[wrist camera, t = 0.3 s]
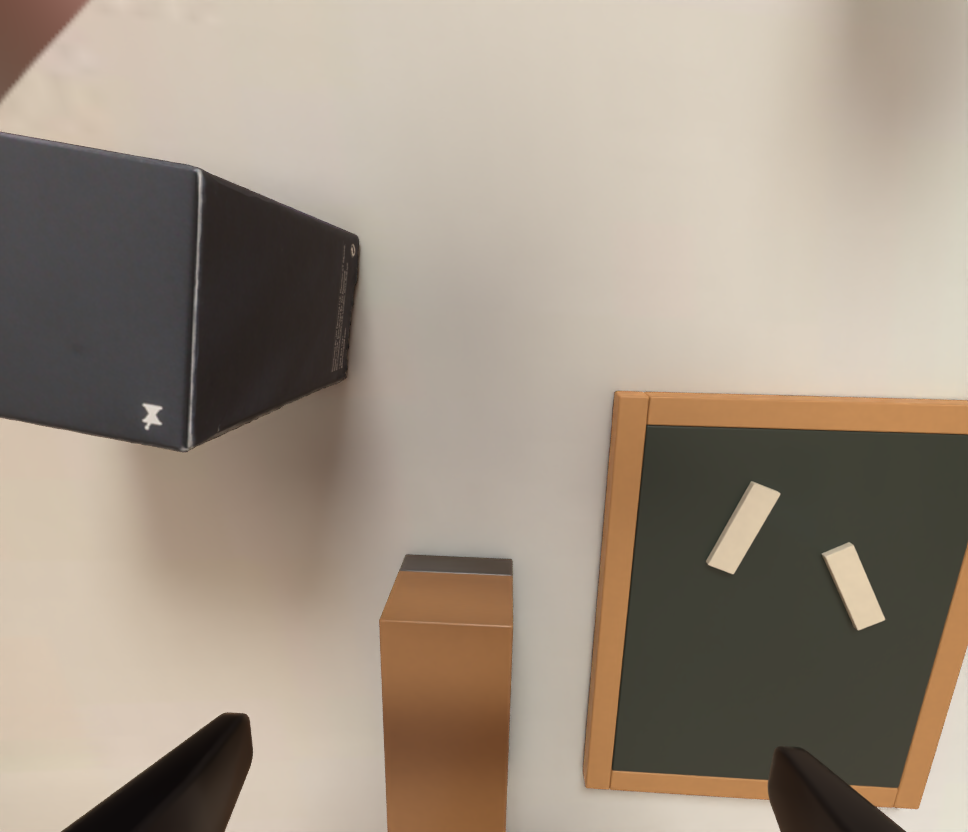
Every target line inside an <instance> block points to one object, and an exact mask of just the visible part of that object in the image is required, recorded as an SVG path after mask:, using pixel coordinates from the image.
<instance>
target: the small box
mask: <svg viewBox="0 0 968 832" xmlns="http://www.w3.org/2000/svg"><path fill="white" fill-rule="evenodd" d="M358 246H359V239H358V236H357V235H355V234H353V233H350V232H348V231H346V230H343V229H341V228H339V227H336V226H334V225H331V224H329V223H327V222H324V221H322V220H320V219H317V218H315V217H313V216H310V215H307V214H305V213H302V212H300V211H298V210H296V209H293V208H291V207H289V206H286V205H284V204H281V203H279V202H277V201H274V200H272V199H270V198H267V197H265V196H262V195H260V194H258V193H255V192H253V191H250V190H249V189H246V188H244V187H241V186H239V185H236V184H234V183H231V182H229V181H227V180H224V179H222V178H220V177H217V176H215V175H212V174H210V173H208V172H206V171H204V170H202V169H201V168H198V167H194V166H191V165H186V164H181V163H175V162H169V161H163V160H158V159H152V158H146V157H140V156H134V155H129V154H123V153H118V152H112V151H107V150H101V149H95V148H90V147H84V146H79V145H73V144H67V143H62V142H56V141H50V140H45V139H39V138H33V137H28V136H22V135H16V134H11V133H5V132H0V418H5V419H10V420H17V421H22V422H27V423H32V424H36V425H41V426H46V427H52V428H57V429H63V430H69V431H74V432H78V433H83V434H88V435H93V436H99V437H105V438H110V439H115V440H121V441H126V442H130V443H138V444H142V445H148V446H153V447H158V448H164V449H169V450H174V451H179V452H188V451H189V450H191V449H193V448H195V447H196V446H199V445H201V444H203V443H205V442H207V441H210V440H212V439H214V438H217V437H219V436H221V435H223V434H225V433H227V432H229V431H231V430H234V429H237V428H238V427H240V426H242V425H244V424H247V423H250V422H251V421H253V420H256V419H258V418H259V417H261V416H264V415H267V414H269V413H271V412H273V411H275V410H277V409H280V408H281V407H283V406H284V405H286V404H288V403H292V402H293V401H296V400H298V399H300V398H302V397H304V396H307V395H309V394H311V393H313V392H315V391H319V390H320V389H322V388H326V387H329V386H331V385H334V384H337V383H339V382H341V381H342V380H344V379H345V378H346V374H345V373H346V371H347V358H346V355H347V350H348V348H349V344H348V338H349V328H350V325H351V323H350V318H351V310H352V306H353V294H354V286H355V285H356V282H357V267H358Z"/></svg>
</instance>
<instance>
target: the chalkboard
mask: <svg viewBox="0 0 968 832" xmlns="http://www.w3.org/2000/svg"><path fill="white" fill-rule="evenodd" d="M751 481H752V482H755V483H758V484H760V485H763V486H765V487H768V488H770V489H773V490H776V491H778V492H779V493H780V496H779V498H778V499H777V501H776V503H775V505H774V506H773V508H772V510H771V511H770V513H769V515H768V517H767V518H766V520H765V522H764V523H763V525H762V527H761V528H760V530H759V532H758V534H757V535H756V537H755V539H754V540H753V542H752V544H751V546H750V547H749V549H748V551H747V552H746V554H745V556H744V557H743V559H742V561H741V563H740V564H739V566H738V568H737V569H736V571H735V573H734V574H731V573H728V572H725V571H723V570H720V569H718V568H715V567H712V566H710V565H708V564H707V563H706V560H707V558H708V556H709V555H710V553H711V551H712V549H713V548H714V546H715V544H716V542H717V541H718V539H719V537H720V535H721V533H722V532H723V530H724V528H725V526H726V525H727V523H728V521H729V519H730V518H731V516H732V514H733V512H734V510H735V509H736V507H737V505H738V503H739V502H740V500H741V498H742V496H743V495H744V493H745V491H746V489H747V487H748V486H749V484H750V482H751ZM848 542H850V543H851V544H853V545H854V547H855V550H856V552H857V554H858V557H859V559H860V561H861V564H862V566H863V568H864V571H865V573H866V576H867V578H868V580H869V583H870V585H871V587H872V590H873V592H874V594H875V597H876V599H877V601H878V604H879V606H880V608H881V611H882V613H883V615H884V618H885V620H884V621H882V622H879V623H876V624H874V625H871V626H869V627H866V628H864V629H861V630H857V629H856V628H855V627H854V626H853V624H852V622H851V619H850V617H849V615H848V613H847V610H846V608H845V606H844V604H843V601H842V599H841V597H840V594H839V592H838V590H837V588H836V585H835V583H834V581H833V579H832V576H831V574H830V572H829V570H828V567H827V565H826V563H825V561H824V558H823V556H822V553H824V552H827V551H829V550H831V549H834V548H836V547H838V546H841V545H843V544H846V543H848ZM967 646H968V400H932V399H895V398H858V397H820V396H783V395H746V394H708V393H671V392H644V393H643V392H632V391H616V392H615V394H614V406H613V418H612V430H611V442H610V454H609V466H608V478H607V490H606V502H605V514H604V526H603V538H602V550H601V562H600V573H599V585H598V597H597V609H596V621H595V633H594V645H593V657H592V669H591V681H590V693H589V705H588V717H587V729H586V741H585V753H584V765H583V774H584V780H585V786H586V788H593V789H609V788H610V789H611V790H623V791H639V792H654V793H670V794H686V795H702V796H717V797H733V798H749V799H764V800H769V796H768V779H769V773H770V768H771V763H772V758H773V753H774V750H775V748H776V747H777V746H792V747H801V748H803V749H805V750H807V751H808V752H809V753H811V754H812V755H813V756H814V757H815V758H817V759H818V760H819V761H820V762H822V763H823V764H824V765H825V766H826V767H828V768H829V769H830V770H831V771H833V772H834V773H835V774H836V775H837V776H839V777H840V778H841V779H842V780H844V781H845V782H846V783H847V784H848V785H850V786H851V787H852V788H853V789H855V790H856V791H857V792H858V793H859V794H861V795H862V796H863V797H864V798H866V799H867V800H868V801H869V802H870V803H872V804H873V805H874V806H875V807H890V808H892V807H895V808H909V809H918V808H919V805H920V802H921V799H922V795H923V792H924V789H925V785H926V782H927V779H928V775H929V772H930V769H931V765H932V762H933V759H934V755H935V752H936V749H937V745H938V742H939V739H940V736H941V732H942V729H943V726H944V722H945V719H946V716H947V712H948V709H949V706H950V702H951V699H952V696H953V692H954V689H955V686H956V682H957V679H958V676H959V672H960V669H961V666H962V662H963V659H964V656H965V652H966V649H967Z"/></svg>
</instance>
